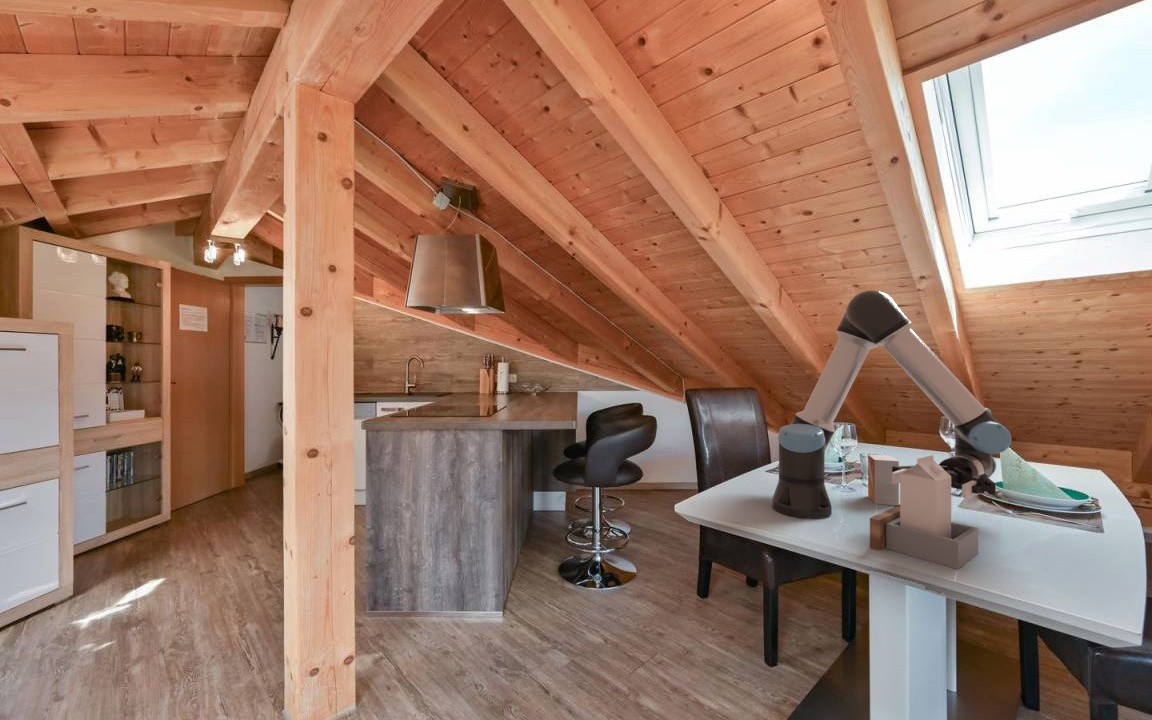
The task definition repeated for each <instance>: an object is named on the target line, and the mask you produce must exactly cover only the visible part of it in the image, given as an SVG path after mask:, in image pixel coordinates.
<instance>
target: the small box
mask: <svg viewBox="0 0 1152 720" xmlns="http://www.w3.org/2000/svg"><path fill="white" fill-rule="evenodd" d="M867 457H868V458H867V461H868V462H867V463H868V464H867V466H868V467H867V475H868V477H867V479H868V480H867V495H868V497H869V498H870V499H871V501H872V502H873V503H874V505H875V504H878V505H888V506H897V505H900V483H898V484H892V466H900V464H899V463H900V462H899V460H898V459H896V458H895V457H893V456H892V455H887V454H885V455H884V454H883V455H882V454H868V455H867Z"/></svg>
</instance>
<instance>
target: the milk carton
mask: <svg viewBox="0 0 1152 720" xmlns="http://www.w3.org/2000/svg"><path fill="white" fill-rule="evenodd" d="M939 464H940V463H938V462H936V461H935V460H934V455H928V456H924V457H919V458H916V464H915V465H914V466H913V465H912V466H913V467H911V468H909V469H907V470H906V471H904V472H902V473H901V474H900V483H899V505H900V526H903V527H906V528H910V529H914V530H918V531H922V532H926V533H930V534H934V535H938V536H942V537H946V538H950V539H951V522H952V487H951V476H950V475H949V474H948V473H947V472H946V471H945V470H944V469H943V468H942V467H941V466H940V465H939Z"/></svg>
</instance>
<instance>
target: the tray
mask: <svg viewBox="0 0 1152 720" xmlns="http://www.w3.org/2000/svg"><path fill="white" fill-rule="evenodd" d="M885 548H886V549H887V550H890V551H894V552H898V553H901V554H904V555H908V556H911V557H914V558H918V559H921V560H925V561H929V562H931V563H935V564H939V565H942V566H945V567H949V568H953V569H956V570H959V569H961V568H962V567H963V566H964V565H966V564H967V563H968V562H969V561H971V560H972V559H973V558H975V557H976V556H977V555H978V554H979V528H978V527H974V526H969V525H966V524H961V523H956V522H952V521H951V539H950V538H946V537H942V536H938V535H934V534H930V533H926V532H922V531H918V530H914V529H910V528H906V527H903V526H900V517H899V518H897V519H895V520H893V521H891V522H889V523H887V524H886V547H885Z"/></svg>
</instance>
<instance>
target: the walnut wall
mask: <svg viewBox="0 0 1152 720" xmlns="http://www.w3.org/2000/svg"><path fill="white" fill-rule="evenodd" d="M899 517H900V504H899V505H894V506H893V507H891V508H888V509H886V510H884V511H882V512H880V513H877V514H875V515H873V516H871V517H869V548H870V549H873V550H875V551H879V552H880V551H882V550H884V549H885V548H886V524H887V523H889V522H891V521H893V520H895V519H897V518H899Z"/></svg>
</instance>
